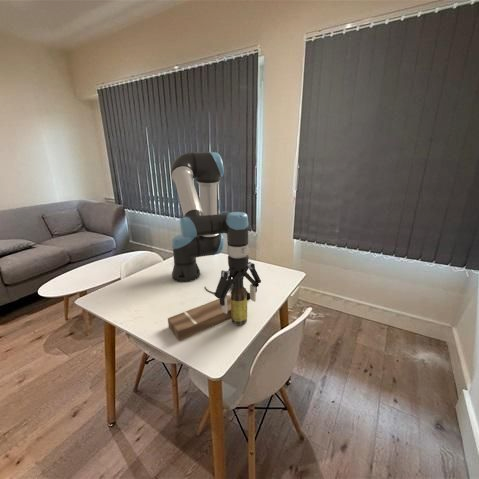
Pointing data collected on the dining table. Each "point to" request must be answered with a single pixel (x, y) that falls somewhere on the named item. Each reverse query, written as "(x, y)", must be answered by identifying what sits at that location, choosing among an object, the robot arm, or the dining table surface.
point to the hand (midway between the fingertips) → (239, 305)
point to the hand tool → (247, 294)
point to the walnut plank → (199, 319)
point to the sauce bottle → (239, 302)
